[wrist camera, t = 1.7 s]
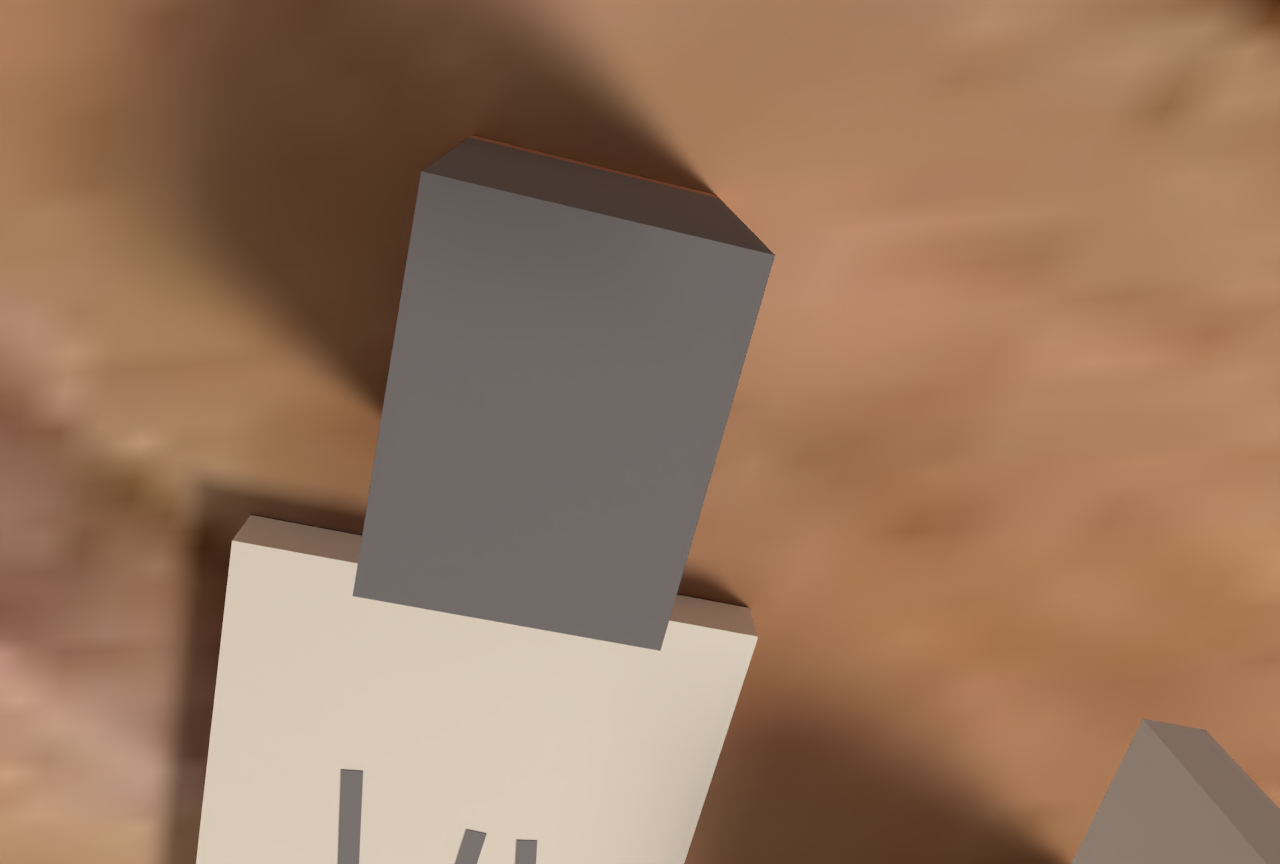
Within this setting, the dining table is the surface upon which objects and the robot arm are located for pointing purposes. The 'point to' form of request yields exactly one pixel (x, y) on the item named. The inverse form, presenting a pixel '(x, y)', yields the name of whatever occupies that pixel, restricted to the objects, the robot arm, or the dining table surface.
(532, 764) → the board
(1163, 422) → the dining table surface
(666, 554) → the block
